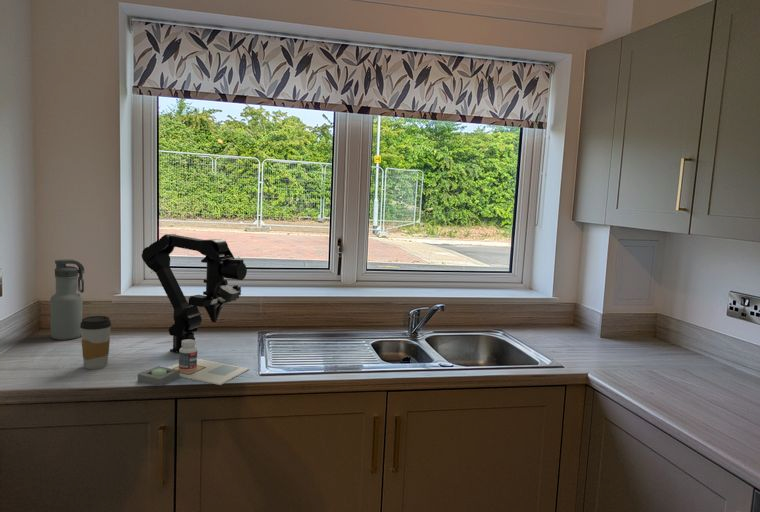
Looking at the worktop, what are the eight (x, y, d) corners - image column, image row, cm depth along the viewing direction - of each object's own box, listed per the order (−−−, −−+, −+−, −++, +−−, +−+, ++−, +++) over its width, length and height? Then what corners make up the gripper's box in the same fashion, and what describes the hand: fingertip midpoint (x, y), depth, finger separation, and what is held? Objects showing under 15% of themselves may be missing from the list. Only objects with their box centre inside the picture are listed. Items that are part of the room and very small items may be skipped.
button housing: (137, 381, 146) (137, 374, 145) (157, 373, 153) (158, 366, 153) (160, 386, 143) (160, 379, 143) (179, 377, 151) (179, 370, 150)
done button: (148, 379, 147) (148, 371, 147) (158, 375, 151) (158, 367, 150) (159, 381, 146) (159, 373, 145) (169, 377, 149) (169, 369, 149)
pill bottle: (190, 372, 154) (191, 344, 153) (175, 370, 155) (175, 342, 154) (200, 367, 159) (200, 339, 158) (185, 365, 160) (185, 337, 159)
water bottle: (80, 331, 190) (79, 257, 186) (86, 337, 183) (86, 261, 179) (48, 335, 183) (47, 258, 180) (53, 342, 176) (52, 262, 172)
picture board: (159, 372, 154) (159, 370, 154) (191, 358, 168) (192, 357, 168) (220, 385, 147) (220, 383, 147) (249, 369, 161) (249, 368, 161)
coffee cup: (117, 364, 158) (117, 317, 156) (94, 372, 150) (94, 323, 149) (97, 360, 161) (97, 314, 159) (73, 367, 153) (73, 319, 151)
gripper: (215, 283, 157) (214, 332, 159) (252, 276, 174) (250, 320, 176) (187, 279, 161) (186, 326, 163) (226, 272, 178) (225, 315, 180)
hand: (214, 322), depth 171 cm, fingers closed
